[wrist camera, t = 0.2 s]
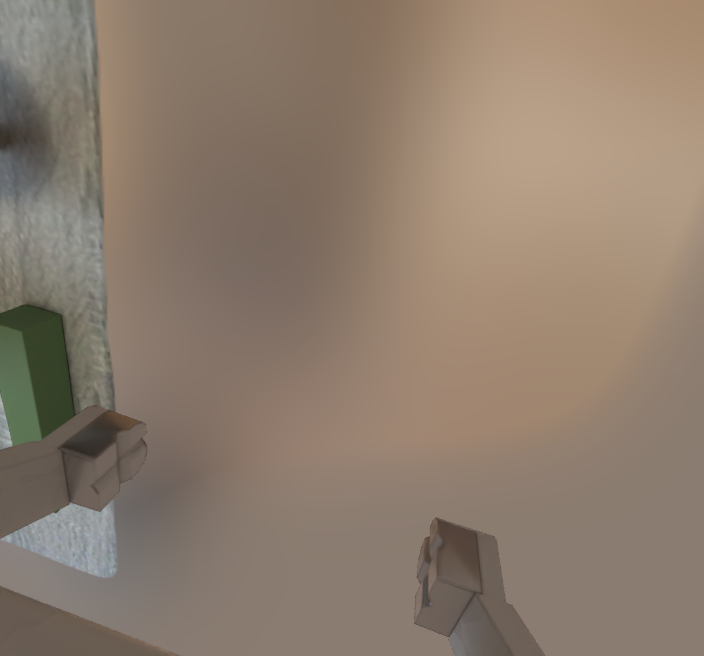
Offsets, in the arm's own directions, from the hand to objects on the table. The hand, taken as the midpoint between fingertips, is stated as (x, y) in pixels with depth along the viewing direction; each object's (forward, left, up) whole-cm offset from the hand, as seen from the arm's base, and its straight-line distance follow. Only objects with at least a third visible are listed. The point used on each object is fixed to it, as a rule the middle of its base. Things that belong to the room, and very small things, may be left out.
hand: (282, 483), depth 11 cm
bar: (+16, -23, -14) cm, 32 cm away
